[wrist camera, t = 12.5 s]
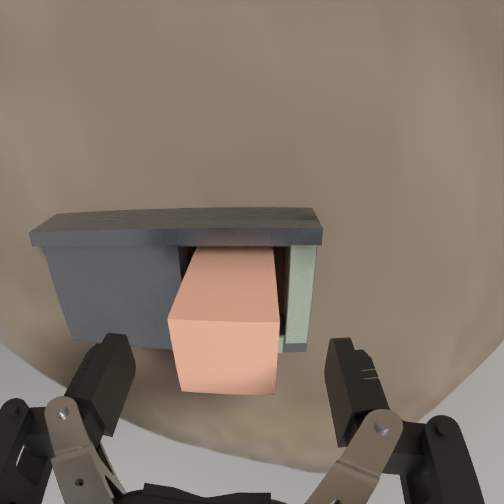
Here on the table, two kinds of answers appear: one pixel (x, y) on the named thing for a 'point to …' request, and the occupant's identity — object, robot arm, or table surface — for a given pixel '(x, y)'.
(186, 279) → the salmon pink block
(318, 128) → the table surface
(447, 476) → the robot arm
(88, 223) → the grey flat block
